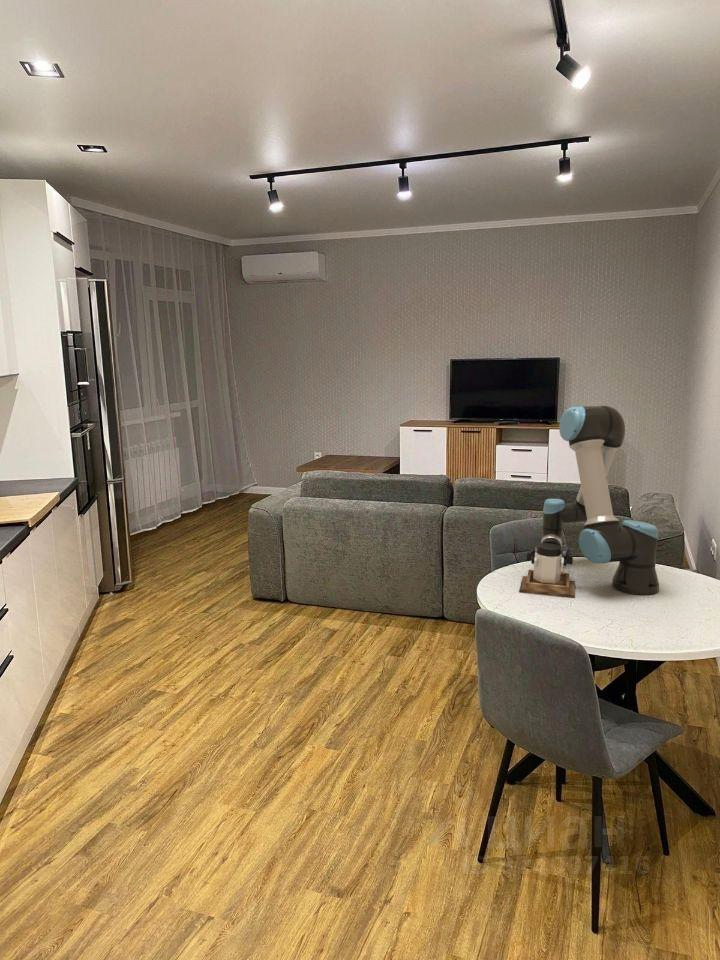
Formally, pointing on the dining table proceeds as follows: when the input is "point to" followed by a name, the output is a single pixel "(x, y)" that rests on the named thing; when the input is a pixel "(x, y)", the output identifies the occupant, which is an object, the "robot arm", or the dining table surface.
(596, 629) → the dining table surface
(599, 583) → the dining table surface
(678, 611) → the dining table surface
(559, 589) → the wooden tray
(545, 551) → the jar
